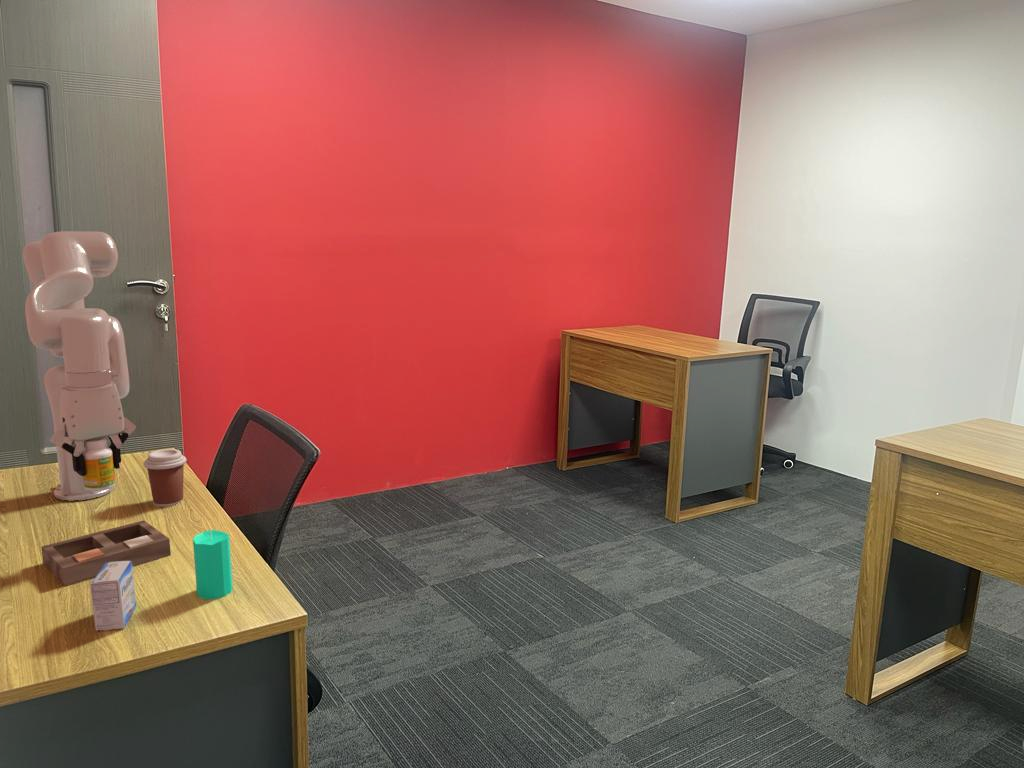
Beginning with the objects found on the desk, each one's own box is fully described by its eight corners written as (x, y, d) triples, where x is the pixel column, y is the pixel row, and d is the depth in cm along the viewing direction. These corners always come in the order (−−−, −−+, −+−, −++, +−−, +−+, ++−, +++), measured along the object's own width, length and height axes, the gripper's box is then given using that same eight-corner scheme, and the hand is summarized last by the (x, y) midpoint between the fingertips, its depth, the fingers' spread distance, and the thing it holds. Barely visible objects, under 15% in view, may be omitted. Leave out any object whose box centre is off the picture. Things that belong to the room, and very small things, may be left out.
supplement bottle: (103, 492, 146) (98, 443, 144) (78, 490, 147) (72, 441, 145) (121, 483, 151) (117, 436, 149) (97, 481, 152) (92, 434, 150)
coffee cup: (178, 492, 187) (174, 445, 184) (196, 501, 181) (193, 453, 178) (140, 502, 180) (135, 453, 177) (157, 512, 174) (153, 461, 171)
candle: (196, 586, 139) (192, 524, 137) (231, 581, 142) (227, 520, 139) (197, 601, 134) (192, 537, 131) (233, 595, 136) (229, 532, 134)
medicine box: (124, 629, 125) (119, 580, 123) (94, 632, 124) (89, 582, 122) (137, 606, 132) (132, 559, 130) (109, 608, 131) (104, 561, 129)
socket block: (43, 563, 148) (41, 544, 147) (145, 536, 161) (143, 518, 160) (64, 586, 139) (62, 566, 138) (170, 555, 152) (169, 537, 151)
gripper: (128, 370, 153) (136, 457, 157) (31, 382, 141) (42, 476, 145) (143, 375, 148) (151, 465, 152) (44, 389, 136) (55, 485, 140)
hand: (98, 469), depth 148 cm, fingers closed on supplement bottle, 5 cm apart
